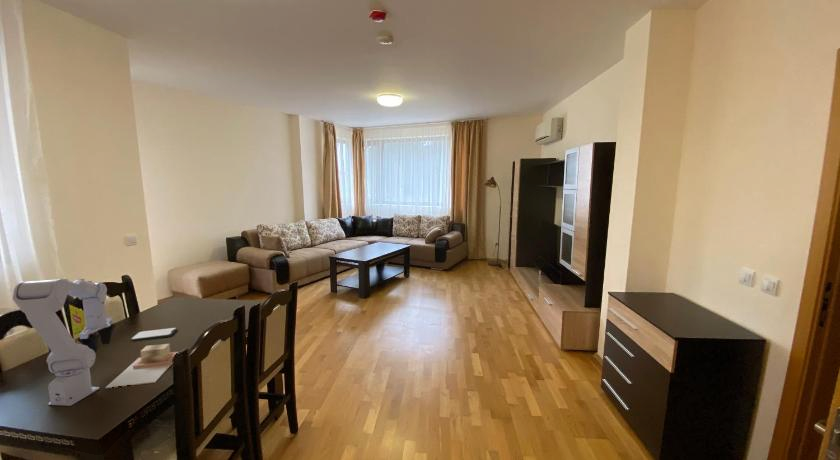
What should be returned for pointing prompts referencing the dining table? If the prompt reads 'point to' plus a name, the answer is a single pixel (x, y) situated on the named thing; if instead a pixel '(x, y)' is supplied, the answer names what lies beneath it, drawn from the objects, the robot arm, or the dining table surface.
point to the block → (155, 353)
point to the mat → (138, 375)
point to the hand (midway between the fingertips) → (99, 348)
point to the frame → (140, 365)
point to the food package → (77, 322)
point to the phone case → (154, 334)
